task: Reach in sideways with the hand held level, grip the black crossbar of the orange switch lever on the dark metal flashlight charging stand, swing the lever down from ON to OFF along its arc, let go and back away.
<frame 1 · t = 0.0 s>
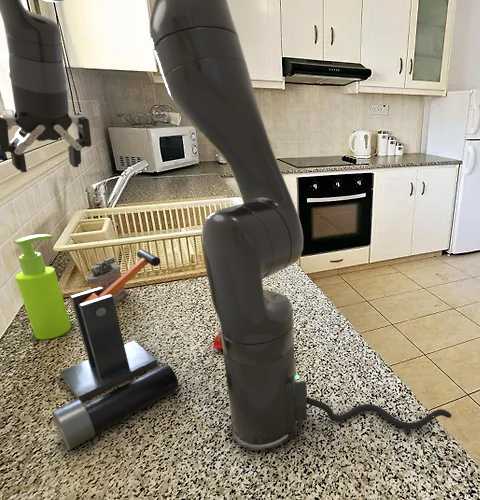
hand: (49, 167, 73), 31 cm above the countertop, tool tilted 20°, fingers open, 8 cm apart
flashlight: (128, 412, 57), on the countertop
candy bar: (239, 331, 77), on the countertop
soap dispenser: (56, 330, 76), on the countertop
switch: (120, 282, 63), point 16 cm above the countertop, hinge at 30.0°
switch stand: (110, 371, 65), on the countertop
lighter: (111, 301, 88), on the countertop
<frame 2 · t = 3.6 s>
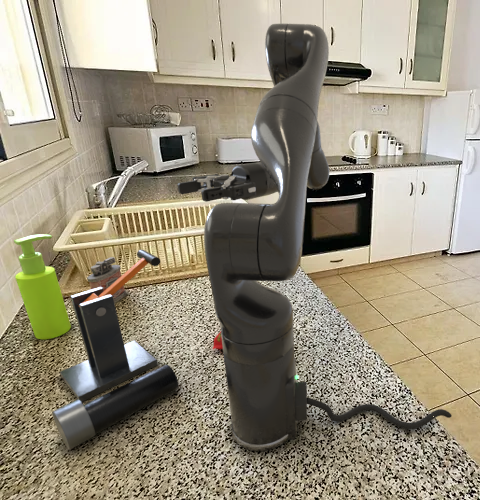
hand: (190, 192, 71), 28 cm above the countertop, tool horizontal, fingers open, 8 cm apart
nothing on the countertop moved.
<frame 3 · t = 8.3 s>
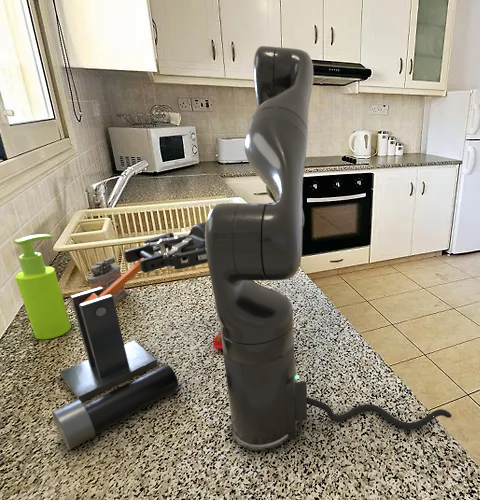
hand: (133, 261, 63), 19 cm above the countertop, tool horizontal, fingers closed on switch, 5 cm apart
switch: (120, 282, 63), point 16 cm above the countertop, hinge at 30.0°, touching gripper
everything else where it was.
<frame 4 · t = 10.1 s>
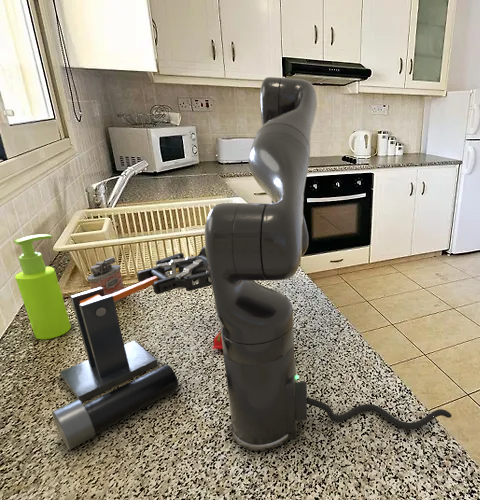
hand: (146, 283, 66), 14 cm above the countertop, tool horizontal, fingers closed on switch, 5 cm apart
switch: (127, 291, 64), point 14 cm above the countertop, hinge at 6.1°, touching gripper
everything else where it was.
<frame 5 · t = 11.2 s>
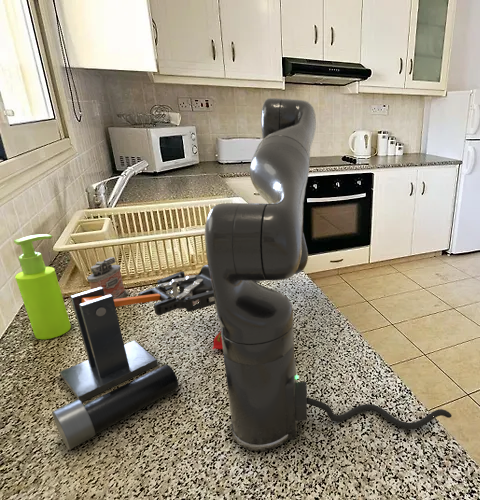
hand: (147, 304, 67), 10 cm above the countertop, tool horizontal, fingers closed on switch, 5 cm apart
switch: (128, 301, 64), point 12 cm above the countertop, hinge at -13.8°, touching gripper
everything else where it was.
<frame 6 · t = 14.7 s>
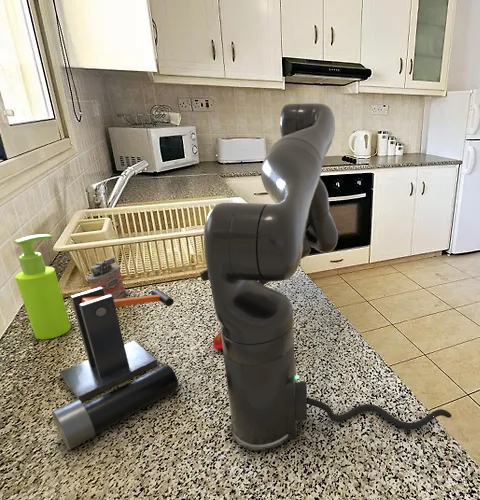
hand: (214, 283, 77), 9 cm above the countertop, tool horizontal, fingers open, 8 cm apart
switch: (128, 301, 64), point 12 cm above the countertop, hinge at -14.8°
everything else where it was.
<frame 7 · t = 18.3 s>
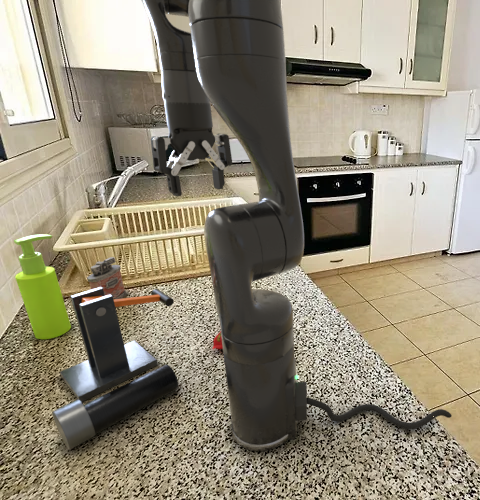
hand: (198, 192, 71), 28 cm above the countertop, tool pointing down, fingers open, 8 cm apart
nothing on the countertop moved.
at the end: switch at -15° (first picture: +30°); the gripper is holding nothing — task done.
